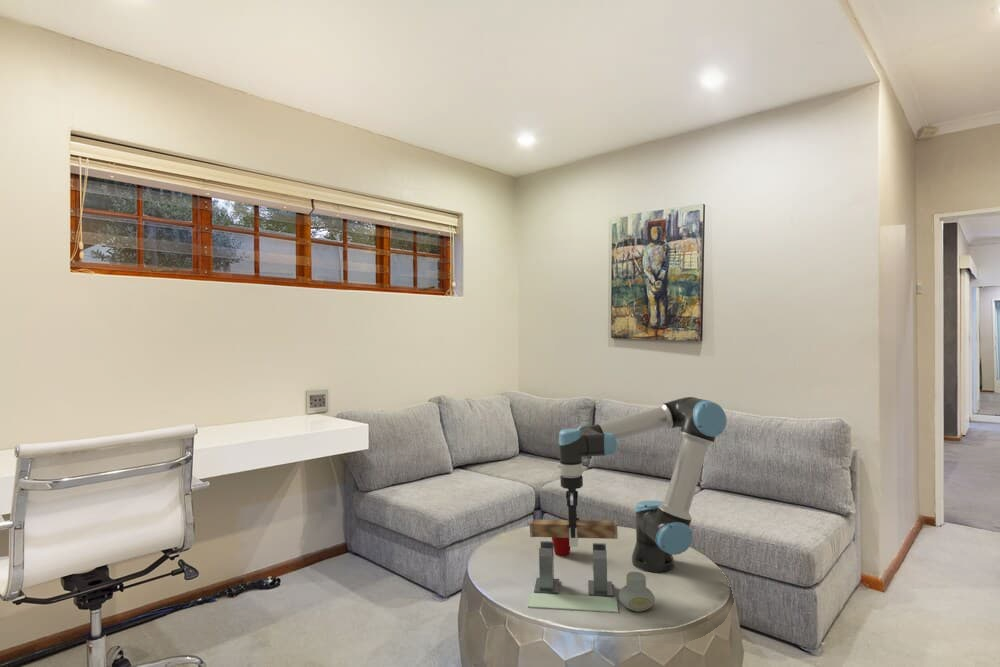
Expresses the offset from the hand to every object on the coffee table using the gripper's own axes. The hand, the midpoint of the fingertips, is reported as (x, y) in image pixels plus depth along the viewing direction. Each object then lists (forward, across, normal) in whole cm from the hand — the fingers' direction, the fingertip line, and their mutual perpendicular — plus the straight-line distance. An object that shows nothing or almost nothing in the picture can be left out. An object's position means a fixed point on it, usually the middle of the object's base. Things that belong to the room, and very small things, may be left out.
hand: (573, 543), depth 186 cm
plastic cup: (+16, -29, -6) cm, 33 cm away
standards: (+15, 0, -1) cm, 15 cm away
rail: (-3, 0, 0) cm, 3 cm away
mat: (+15, +10, -1) cm, 18 cm away
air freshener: (+16, +10, +19) cm, 27 cm away
